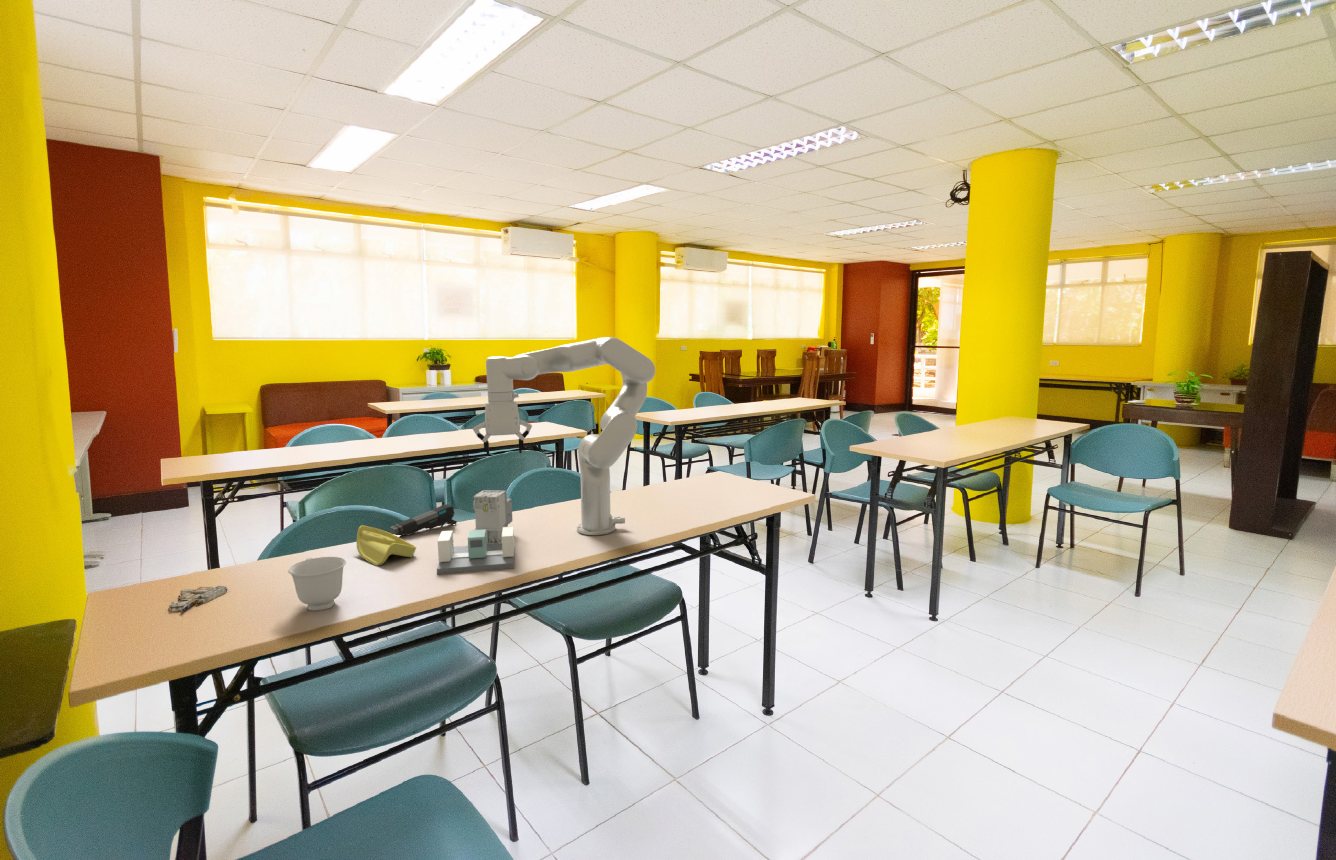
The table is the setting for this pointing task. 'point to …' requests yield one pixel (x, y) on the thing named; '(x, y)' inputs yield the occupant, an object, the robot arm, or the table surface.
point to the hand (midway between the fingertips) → (504, 453)
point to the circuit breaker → (492, 513)
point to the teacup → (318, 581)
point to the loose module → (477, 544)
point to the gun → (425, 521)
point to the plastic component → (381, 545)
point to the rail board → (459, 559)
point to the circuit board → (196, 597)
